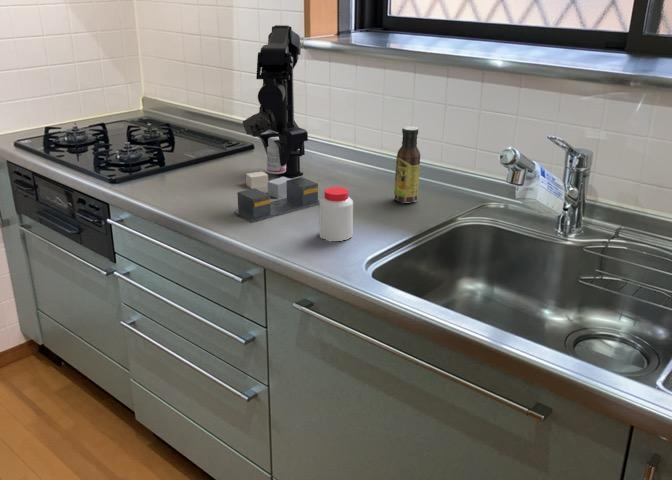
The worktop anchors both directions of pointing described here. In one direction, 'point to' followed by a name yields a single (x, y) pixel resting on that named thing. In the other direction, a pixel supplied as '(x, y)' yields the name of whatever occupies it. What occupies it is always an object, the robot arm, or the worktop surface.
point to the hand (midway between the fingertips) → (277, 163)
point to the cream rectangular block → (257, 180)
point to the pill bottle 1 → (274, 157)
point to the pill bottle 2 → (336, 214)
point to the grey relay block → (278, 187)
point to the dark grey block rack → (259, 206)
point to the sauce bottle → (407, 167)
